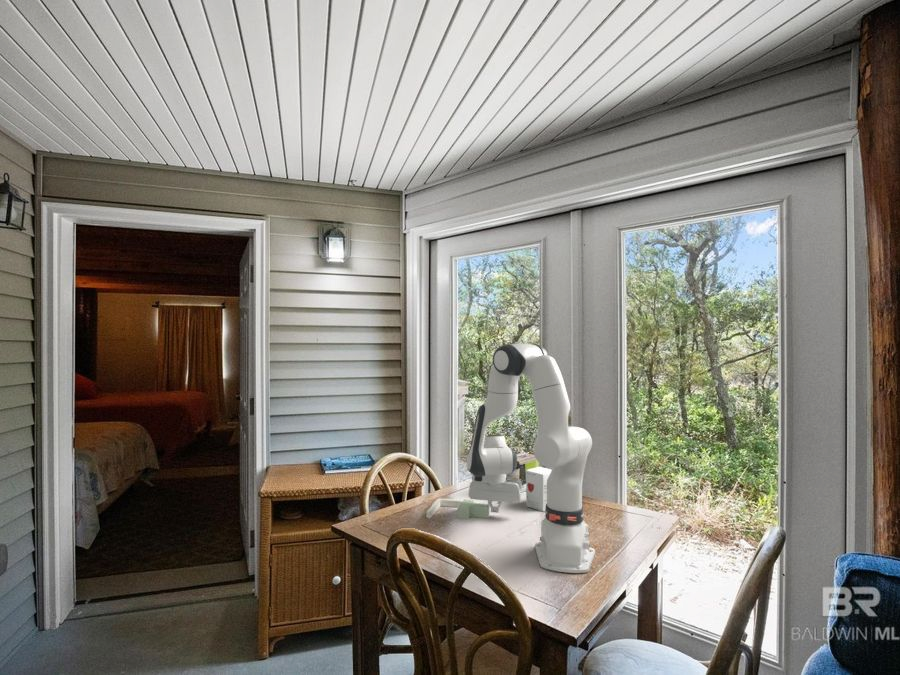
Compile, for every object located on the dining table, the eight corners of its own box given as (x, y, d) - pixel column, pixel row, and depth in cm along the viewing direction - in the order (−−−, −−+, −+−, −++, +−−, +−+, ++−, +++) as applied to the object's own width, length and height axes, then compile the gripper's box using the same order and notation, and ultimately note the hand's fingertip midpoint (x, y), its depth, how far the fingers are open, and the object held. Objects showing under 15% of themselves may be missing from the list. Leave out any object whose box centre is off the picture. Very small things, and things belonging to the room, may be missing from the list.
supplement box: (525, 506, 191) (525, 469, 192) (538, 501, 197) (538, 466, 198) (543, 512, 185) (543, 474, 185) (556, 506, 191) (556, 470, 191)
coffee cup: (518, 500, 198) (518, 465, 199) (497, 498, 201) (497, 463, 202) (522, 494, 207) (522, 460, 207) (501, 492, 210) (501, 458, 211)
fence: (455, 520, 175) (455, 514, 176) (426, 518, 178) (426, 511, 178) (464, 506, 191) (464, 500, 191) (438, 504, 194) (438, 498, 194)
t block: (486, 520, 175) (486, 510, 176) (458, 518, 178) (458, 507, 178) (490, 511, 185) (490, 501, 185) (463, 509, 188) (463, 499, 188)
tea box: (524, 482, 225) (523, 451, 225) (540, 487, 217) (540, 455, 218) (502, 488, 215) (502, 456, 216) (519, 493, 208) (518, 460, 208)
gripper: (522, 475, 181) (522, 511, 180) (471, 472, 186) (471, 506, 186) (520, 480, 174) (520, 517, 174) (467, 476, 180) (467, 512, 180)
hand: (494, 512), depth 180 cm, fingers closed
